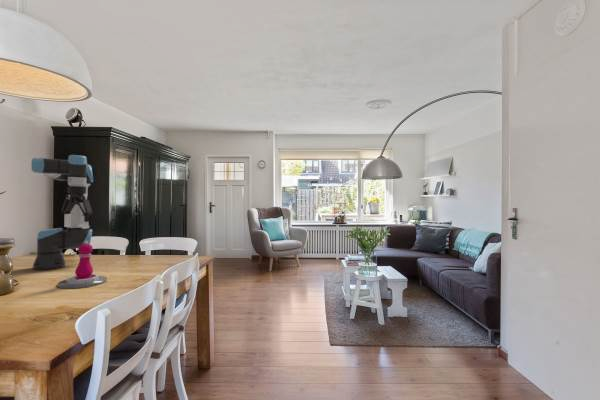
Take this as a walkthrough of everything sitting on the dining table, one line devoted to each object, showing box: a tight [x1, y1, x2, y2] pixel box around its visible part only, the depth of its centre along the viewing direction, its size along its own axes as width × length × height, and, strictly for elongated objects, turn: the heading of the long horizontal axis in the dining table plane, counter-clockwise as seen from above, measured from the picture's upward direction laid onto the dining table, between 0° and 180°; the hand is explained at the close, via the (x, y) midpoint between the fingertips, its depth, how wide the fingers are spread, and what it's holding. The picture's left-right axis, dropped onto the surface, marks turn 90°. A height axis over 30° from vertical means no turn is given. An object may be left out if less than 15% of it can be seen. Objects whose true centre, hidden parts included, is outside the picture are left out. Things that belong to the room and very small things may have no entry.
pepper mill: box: [74, 241, 94, 280], centre depth 149 cm, size 7×7×20 cm
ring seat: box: [57, 273, 108, 290], centre depth 149 cm, size 20×20×3 cm
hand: (76, 227), depth 151 cm, fingers open, 13 cm apart
